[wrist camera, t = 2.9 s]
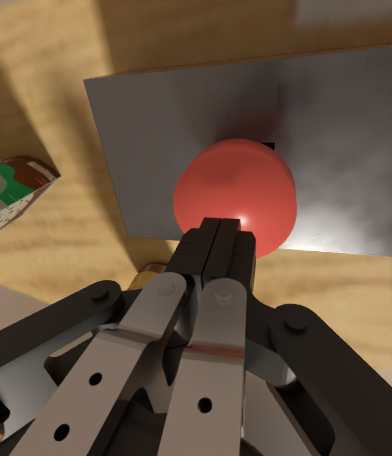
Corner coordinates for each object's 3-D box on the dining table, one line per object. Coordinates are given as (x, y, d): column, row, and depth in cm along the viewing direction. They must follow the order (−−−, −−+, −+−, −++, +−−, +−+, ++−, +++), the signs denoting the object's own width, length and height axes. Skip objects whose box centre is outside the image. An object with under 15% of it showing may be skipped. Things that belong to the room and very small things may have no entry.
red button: (297, 114, 16) (304, 150, 11) (289, 202, 20) (291, 265, 14) (200, 119, 18) (164, 153, 13) (207, 200, 21) (181, 255, 16)
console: (422, 39, 16) (478, 38, 12) (373, 212, 23) (396, 257, 18) (126, 71, 22) (83, 79, 17) (154, 203, 28) (127, 236, 24)
